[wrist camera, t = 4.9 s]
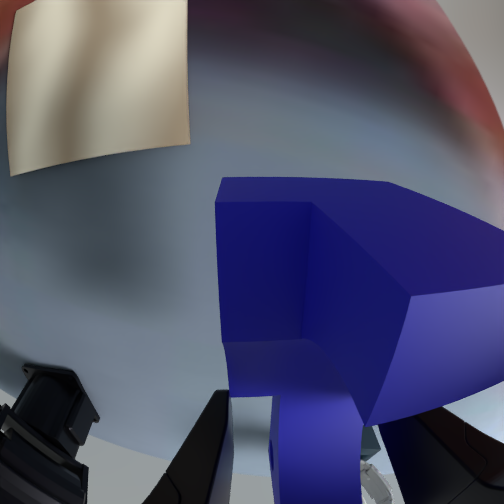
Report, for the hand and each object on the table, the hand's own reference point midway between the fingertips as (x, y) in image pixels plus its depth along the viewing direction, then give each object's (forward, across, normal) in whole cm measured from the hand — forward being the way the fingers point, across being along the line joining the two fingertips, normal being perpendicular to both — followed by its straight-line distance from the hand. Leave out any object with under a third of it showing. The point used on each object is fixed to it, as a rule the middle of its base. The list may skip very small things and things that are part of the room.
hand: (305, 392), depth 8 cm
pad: (+10, +10, -13) cm, 19 cm away
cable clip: (+2, 0, 0) cm, 2 cm away
